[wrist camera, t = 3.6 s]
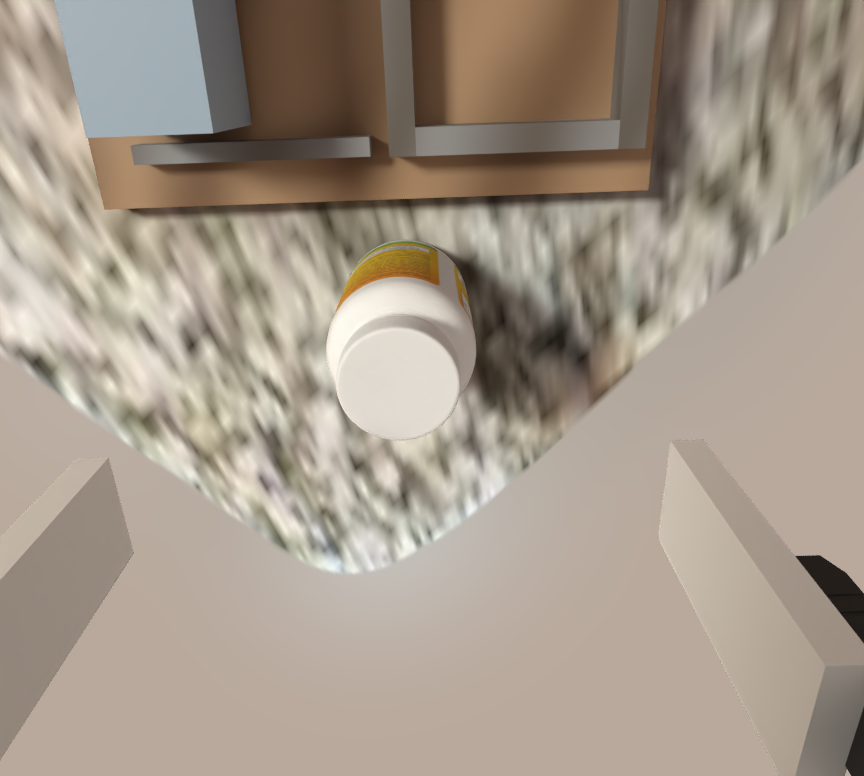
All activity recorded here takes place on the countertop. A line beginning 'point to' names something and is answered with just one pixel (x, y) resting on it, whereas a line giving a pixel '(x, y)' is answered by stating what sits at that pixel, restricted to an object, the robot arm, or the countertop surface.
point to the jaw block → (155, 66)
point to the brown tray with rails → (415, 106)
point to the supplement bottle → (402, 341)
